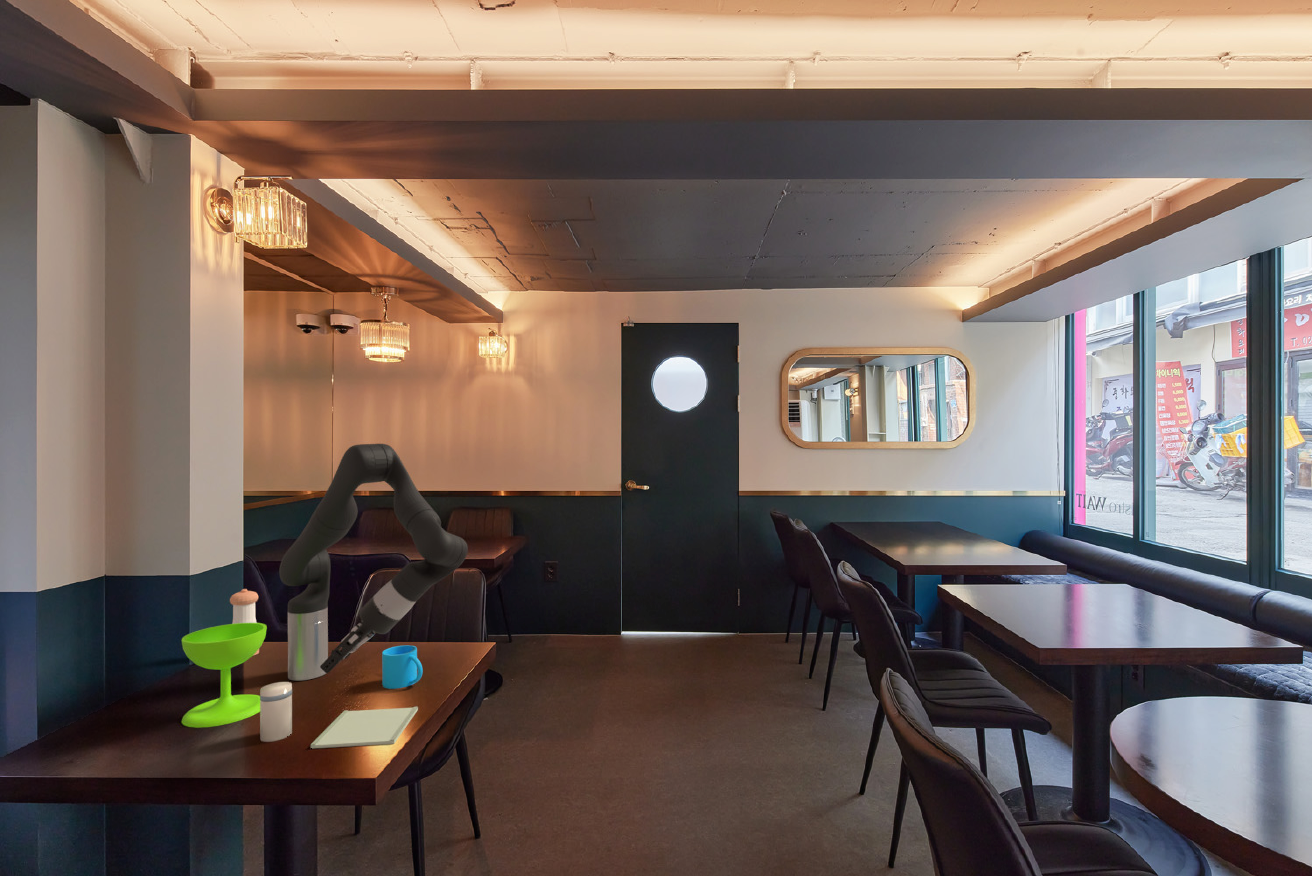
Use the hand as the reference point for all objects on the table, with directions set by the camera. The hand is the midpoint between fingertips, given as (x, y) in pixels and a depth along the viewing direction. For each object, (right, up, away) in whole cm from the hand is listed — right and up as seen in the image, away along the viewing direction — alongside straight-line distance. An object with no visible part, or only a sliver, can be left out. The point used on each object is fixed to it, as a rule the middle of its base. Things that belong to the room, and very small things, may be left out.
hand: (333, 662), depth 128 cm
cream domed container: (-11, -15, -1) cm, 18 cm away
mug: (+4, -15, +26) cm, 31 cm away
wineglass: (-30, -15, +11) cm, 36 cm away
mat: (+7, -14, +1) cm, 16 cm away
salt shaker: (-53, -17, +51) cm, 75 cm away
